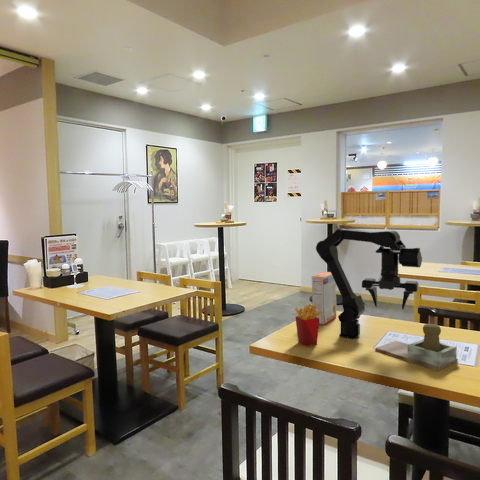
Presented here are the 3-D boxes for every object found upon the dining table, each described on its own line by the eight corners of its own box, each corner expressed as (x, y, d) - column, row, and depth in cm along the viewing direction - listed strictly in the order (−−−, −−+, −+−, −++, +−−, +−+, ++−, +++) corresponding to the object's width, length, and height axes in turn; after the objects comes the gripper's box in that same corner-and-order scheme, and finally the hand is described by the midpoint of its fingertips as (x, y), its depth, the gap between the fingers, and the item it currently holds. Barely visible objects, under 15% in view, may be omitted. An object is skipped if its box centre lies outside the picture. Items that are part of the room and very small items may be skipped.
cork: (446, 360, 125) (446, 326, 124) (428, 362, 124) (428, 327, 123) (434, 354, 131) (434, 321, 130) (417, 355, 130) (417, 322, 129)
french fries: (294, 342, 148) (294, 302, 147) (313, 338, 151) (313, 300, 150) (307, 349, 140) (307, 307, 139) (327, 346, 143) (327, 305, 142)
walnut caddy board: (375, 350, 138) (375, 336, 137) (396, 343, 144) (396, 329, 144) (437, 371, 120) (437, 354, 119) (457, 361, 126) (457, 346, 126)
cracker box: (324, 316, 183) (324, 271, 182) (336, 317, 180) (336, 272, 178) (311, 323, 172) (311, 275, 170) (324, 325, 168) (324, 276, 167)
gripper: (358, 267, 141) (358, 310, 142) (415, 270, 131) (414, 316, 133) (365, 263, 150) (365, 303, 151) (418, 265, 141) (418, 308, 142)
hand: (389, 308), depth 144 cm, fingers open, 9 cm apart
